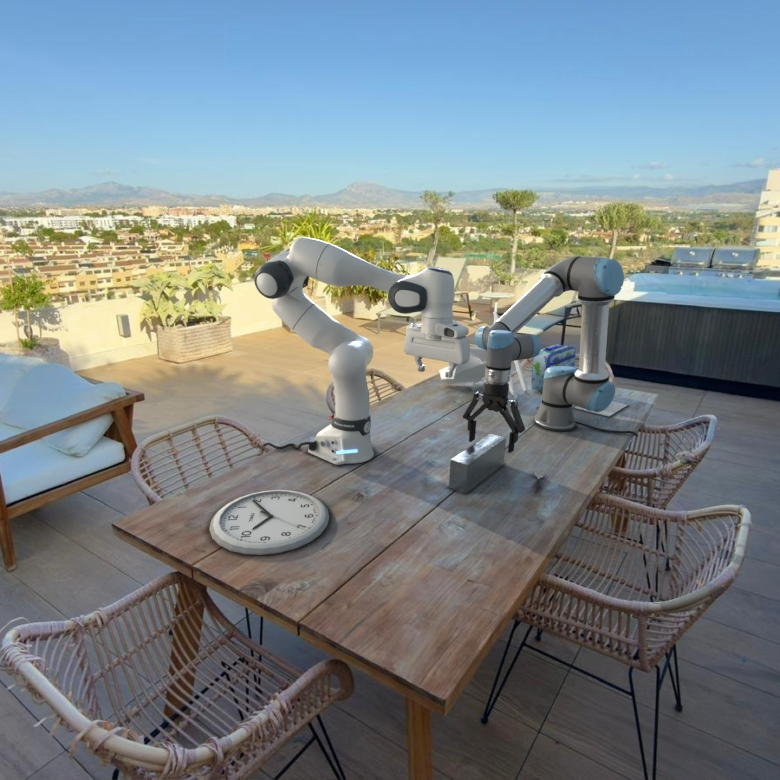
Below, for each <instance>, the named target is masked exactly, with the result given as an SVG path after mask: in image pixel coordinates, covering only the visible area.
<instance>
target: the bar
mask: <svg viewBox="0 0 780 780" xmlns="http://www.w3.org/2000/svg"><path fill="white" fill-rule="evenodd" d="M506 443H507V437H504V436H500V435H496V434H492V433H489V434H487V435H486V436H485V437H483V438H481V439H480V440H478V441H477V442H475V443H473V444H472V445H470V446H469V447H467V448H466V449H464V450H463V451H461V452H460V453H458V454H457V455H454V456H453V457H452V458H451V459H450V463H449V479H448V481H449V482H448V488H449V489H450V490H453V491H456V492H459V493H462V494H468V493H469V492H470V491H471V490H473V489H474V488H475V487H477V486H478V485H479V484H480V483H482V482H483V481H484V480H486V479H487V478H488V477H490V475H492V474H493V473H495V472H496V471H497V470H498V469H500V468H501V467H502V466H504V464H505V454H506Z"/></svg>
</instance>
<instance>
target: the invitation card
mask: <svg viewBox="0 0 780 780" xmlns="http://www.w3.org/2000/svg"><path fill="white" fill-rule="evenodd" d="M628 406H629V404H627V403H623V402H618V401H614V400H612V402H611V403H610V405H609V406H608V407H607V408H606V409H605V410H603V411H601V412H594V411H589V410H587V409H584V408H581V407H578V406H574V407H573V409H575V410H581V411H584V412H587V413H593V414H596V415H600V416H604V417H608V418H609V417H611V416H613V415H614V414H616V413H617V412H619V411H621V410H623V409H624V408H626V407H628Z"/></svg>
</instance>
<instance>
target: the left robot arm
mask: <svg viewBox="0 0 780 780" xmlns="http://www.w3.org/2000/svg"><path fill="white" fill-rule="evenodd" d="M310 278H311V279H314V280H315V281H318V282H320V283H322V284H326V285H330V286H333V287H334V286H335V287H340V288H344V287H355V286H363V287H369V288H370V287H371V288H373V289H376V290H379V291H382V292H385V293H387V294H388V295H387V298H388V299H387V300H388V303H389V306H390V307H391V309H392V310H394V312H396V313H399V314H404V315H408V314H409V315H410V314H415V313H421V322H420V323H414V322H411V323H410V324H409V323H408V325H407V326H406V329H405V337H404V343H403V344H404V345H403V351H404V353H405V354H406V355H407V356H412V357H414V361H415V363H416V365H417V372H420V373H423V372H425V371H426V364H424V363H423V361H422V359H423V358H424V359H429V360H435V361H440V362H445V363H448V366H451V367H450V369H449V370H447V371H445V374H446V375H445V377H449V378H451V377H452V376H453V371H454V369H455V368H456V366H457V364H460V365H462V364H465V363H467V362H468V361H469V358H470V347H471V344H470V343H471V342H470V339H469V337H468V335H469V333H470V329H469V327H467V326H465V325H463V324H461V323H460V322H458V321H456V320H454V313H453V306H454V303H455V277H454V274H453V273H452V272H451V271H450V270H449V269H447V268H443V267H437V266H428V267H426V268H425V269H423V270H421V271H420V272H418V273H416V274H410V275H409V274H408V275H406V274H400V273H397V272H394V271H391V270H389V269H387V268H383V267H380V266H378V265H375V264H373V263H370V262H368V261H366V260H364V259H362V258H361V257H358V256H357V255H356V254H353V253H351V252H349V251H347V250H345V249H344V248H341V247H339V246H338V245H334V244H332V243H329V242H327V241H324V240H321V239H318V238H313V237H306V236H301V237H298V238H296V239H295V240H293V242H292V243H291V245H290V247H289V249H286V250H285V251H282V252H280V253H278V254H275V255H274V256H272V257H271V258H270V259H269V260H268V261H266V262H264V263H263V264H261V265H259V267H258V269H257V270H256V271H255V273H254V277H253V282H254V285H255V288H256V290H257V291H258V293H259V294H260V295H261V296H263V297H264V298H266V299H271V300H272V302H271V307H272V310H273V312H274V313H275V314H276V315H277V317H278V318H279V319H280V320H281V321H282V322H283V323H284V324H285V325H286V326H287V327H288V328H289V329H290V330H291V331H293V332H294V333H295V334H296V335H297V336H298V337H299V338H301V339H302V340H303V341H304V342H306V343H307V344H308V345H309V346H311V347H312V348H314V349H317V350H319V351H322V352H324V353H325V354H328V355H329V358H328V365H327V366H328V370H329V373H330V374H331V379H332V384H333V389H334V409H335V411H334V413H332V415H330V416H329V417H328V421H330V420H331V422H330V423H329V424H328V425H327V426H325V427H324V428H323V429H321V430H320V431H318V432H317V434H316V436H310V438H309V440H308V441H304V442H303V441H302V442H300V443H299V444H298V445H297V444H295V443H287V444H285V445H282V446H278V445H275V444H273V443H271V442H265V443H263V444H262V447H266V446H269V447H272V448H273V449H275V450H284V449H286V448H289V447H293V448H295V449H296V450H299V449H301V447H302V446H306V445H308V449H307V453H309V454H311V455H313V456H315V457H318V458H319V459H322V460H324V461H326V462H329V463H331V464H333V465H335V466H341V465H345V464H348V465H349V464H361V463H365V462H367V461H370V460H371V459H372V458H373V457H374V456H375V452H374V449H373V445H372V440H371V427H372V426H371V425H372V424H371V423H372V422H371V421H372V419H371V413H370V389H369V385H368V380H367V369H368V366H369V365H370V363H372V360H373V358H374V346H373V343H372V342H371V341H370V340H369V338H367V337H365V336H363V335H360V334H358V333H357V332H356V331H354V330H353V329H351V328H349V327H347V326H346V325H344V324H342V323H340V322H339V321H337V320H336V319H335V318H334V317H332V316H331V315H329V313H327V311H325V310H324V309H322V308H321V307H320V306H319V305H318V304H316V303H315V302H314V301H313V300H312V299H310V297H308V296H307V295H306V293H305V292H304V289H303V288H306V287H308V285H309V280H310Z"/></svg>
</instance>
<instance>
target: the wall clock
mask: <svg viewBox="0 0 780 780" xmlns="http://www.w3.org/2000/svg"><path fill="white" fill-rule="evenodd" d="M329 521H330V514H329V509H328V507H327V506H326V505H325V504H324V503H323V502H322V501H321V500H320V499H318V498H317V497H315V496H313V495H310V494H308V493H304V492H301V491H295V490H291V489H290V490H288V489H272V490H270V489H269V490H262V491H258V492H252V493H249V494H246V495H244V496H240V497H238V498H235V499H234V500H231V501H230V502H229V503H226V504H225V505H224V506H223V507H222V508H221V509H219V510H218V511H216V513H215V514H214V516H213V517H212V518H211V521H210V524H209V533H210V536H211V539H212V540H213V541H214V542H215V543H216V544H217V545H218V546H219V547H222V548H224V549H226V550H228V551H230V552H234V553H237V554H243V555H254V556H266V555H274V554H275V555H276V554H281V553H285V552H289V551H292V550H296V549H298V548H301V547H304V546H305V545H307V544H309V543H311V542H313V541H314V540H316V539H317V538H318V537H319V536H321V535H322V534H323V532H324V531H325V530H326V529H327V527H328V525H329Z"/></svg>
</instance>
